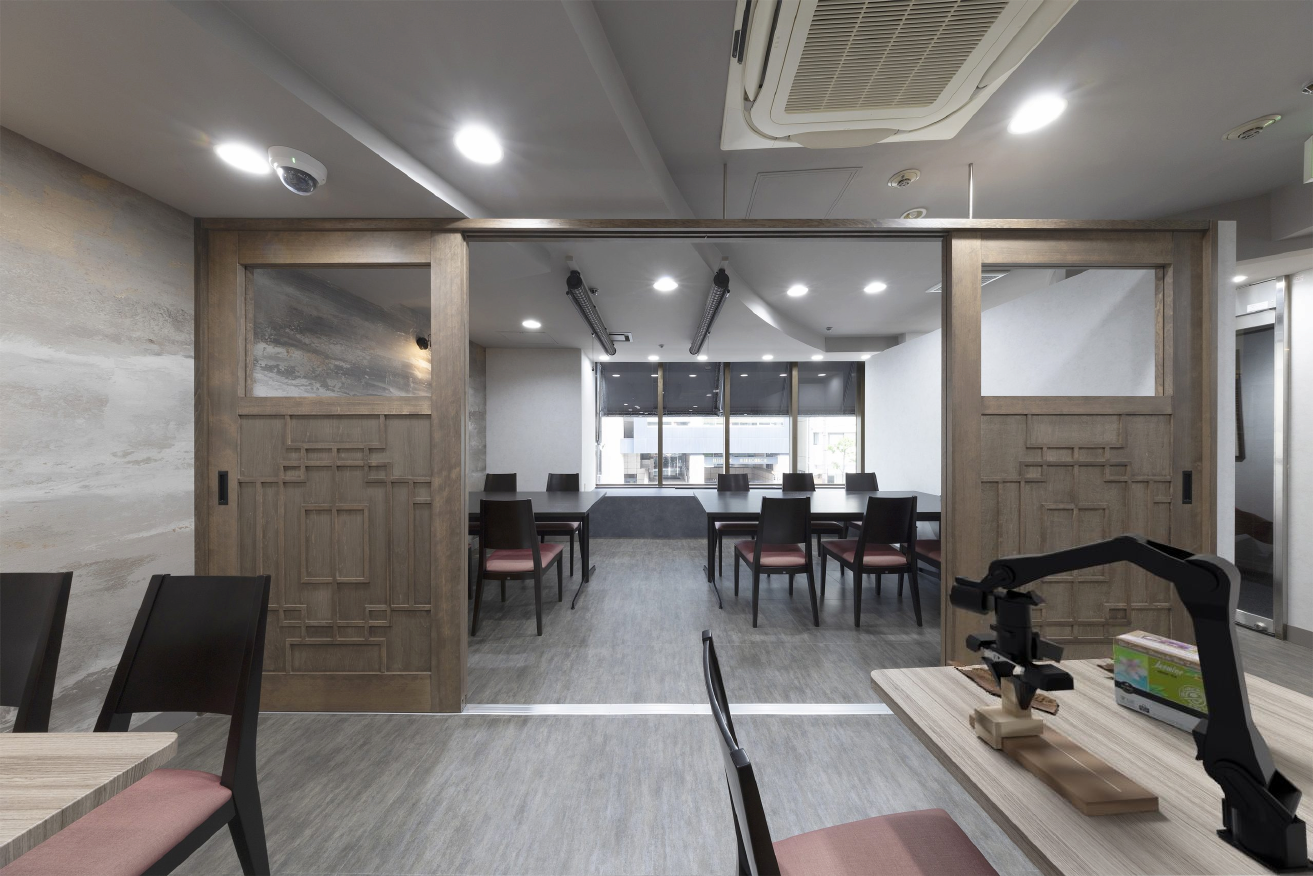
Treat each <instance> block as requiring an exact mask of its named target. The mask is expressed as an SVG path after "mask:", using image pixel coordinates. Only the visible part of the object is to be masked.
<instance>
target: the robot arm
mask: <svg viewBox="0 0 1313 876" xmlns="http://www.w3.org/2000/svg"><path fill="white" fill-rule="evenodd" d="M1123 561H1124V562H1125V561H1126V562H1128V563H1131V564H1133V565H1135V566H1137V567H1139V568H1141V569H1143V570H1145V571H1147V572H1148V573H1150V574H1152V575H1154V576H1155V577H1159V578H1160V579H1163V580H1165V581H1167V582H1170V583H1172V584H1173V585H1174V588H1175V590H1176V594H1177V595H1178V598H1179V601H1180V602H1181V603H1182V605H1183V606H1184V608H1185V611H1187V613H1188V614H1189V617H1190V619H1191V621H1192V626H1193V632H1194V638H1195V644H1196V645H1195V646H1196V647H1197V651H1198V657H1199V662H1200V668H1201V674H1202V680H1203V686H1204V692H1205V698H1206V703H1207V709H1208V715H1209V719H1208V720H1206V719H1203V718H1202V719H1201V720H1200V721H1199V722H1198V724H1197V725H1196V726H1195V727H1194V728H1193V730H1192V733H1191V734H1192V738H1193V741H1194V744H1195V746H1196V749H1197V750H1196V753H1197V754H1196V755H1195V758H1194V760H1195V761H1198V762H1199V761H1202V766H1203V769H1204V771H1205V773H1206V774H1207V776H1208V777H1209V778H1210V779H1212V780H1213V781H1214V782H1215V783H1216V784H1217V785H1219V786H1220V789H1221V790H1222V792H1223V795H1224V797H1221V798H1220V799H1221V801H1220V802H1221V813H1222V814H1221V818H1222V822H1221V823H1222V826H1223V828H1220V829H1216V830H1215V831H1216V835H1217V836H1219V837H1220V838H1221V839H1223V840H1225V841H1226V842H1228V843H1230V844H1231V845H1232V846H1234V847H1236V848H1237V849H1238V850H1240V851H1242V852H1243V853H1246V854H1247V855H1248V856H1250V857H1252V858H1253V859H1254V860H1255V861H1257V860H1258V861H1257V862H1259V863H1260V864H1262V865H1263V866H1265V867H1267V868H1268V869H1269V870H1271V871H1273V872H1275V873H1278V874H1284V873H1287V874H1288V873H1296V872H1297V873H1298V872H1306V871H1307V872H1308V871H1313V860H1312V859H1310V858H1309V857H1308V855H1309V853H1308V837H1307V822H1306V821H1305V820H1303V819H1301V818H1300V817H1299V816H1298V815H1297V814H1296V812H1297V809H1298V807H1299V805H1300V802H1301V798H1302V796H1303V794H1304V793H1303V792H1302V790H1301V789H1300V788H1298V787H1297V786H1296V784H1294V783H1293V782H1292V781H1291V780H1290V779H1288V777H1286V776H1285V775H1284V774H1283V773H1282V772H1281V771H1280V770H1279V769H1278V768H1277V767H1276V763H1275V761H1274V759H1273V756H1272V753H1271V752H1270V749H1269V747H1268V744H1267V742H1266V740H1265V738H1264V737H1263V735H1262V734H1261V732H1260V730H1259V728H1258V727H1257V726H1256V723H1255V722H1254V720H1253V714H1252V710H1251V705H1250V704H1251V703H1250V698H1249V693H1248V687H1247V683H1246V676H1245V671H1244V666H1243V661H1242V659H1243V658H1242V654H1241V649H1240V643H1239V638H1238V631H1237V626H1236V622H1235V621H1236V616H1237V615H1236V614H1237V610H1238V605H1239V604H1238V603H1239V599H1240V590H1241V581H1242V580H1241V579H1242V578H1241V577H1242V575H1241V573H1240V571H1239V568H1238V567H1237V566H1236V565H1235V564H1234V563H1232V562H1230V560H1227V559H1226V558H1225V557H1221V556H1220V555H1219V556H1218V555H1217V554H1216V555H1215V554H1211V553H1195V552H1193V551H1189V550H1187V549H1185V548H1181V547H1178V546H1173V545H1170V544H1166V543H1164V542H1160V541H1156V540H1153V539H1150V538H1147V537H1145V536H1143V535H1140V534H1138V533H1131V532H1130V533H1124V534H1121V535H1118V536H1115V537H1113V538H1109V539H1104V540H1100V541H1096V542H1092V543H1087V544H1082V545H1078V546H1074V547H1069V548H1065V549H1061V550H1057V551H1052V552H1047V553H1027V554H1025V553H1023V554H1011V555H1008V556H1004V557H1000V558H997V559H995V560H992V561H991V562H990V563H989V566H988V569H987V570H988V573H987V574H986V575H985V576H984V577H983V578H982V579H975V578H972V577H968V576H966V575H965V576H964V575H961V574H960V575H956V576H954V583H953V584H952V586H951V589H950V592H949V596H948V597H949V602H950V604H951V606H952V607H953V608H955V609H959V610H962V611H966V612H970V613H973V614H977V615H981V616H988V615H989V614H990V612H991V613H992V612H994V623H989V629H990V630H991V631H993V632H995V635H994V634H992V633H990V632H987V633H985V632H984V633H969V635H967V637H965V647H966V648H967V649H969V650H970V651H972V652H973V653H979V652H981V650H983V652H984V656H981V657H980V658H981V661H983V662H984V663H985V665H986V667H987V669H989V670H990V672H991V674H992V675H993V677H994V679H995V681H996V683H997V684H998V686H999V688H1000V690H1001V677H1011V679H1012V682H1013V686H1014V689H1015V692H1016V696H1017V699H1018V703H1019V705H1020V708H1021V709H1022V710H1028V708H1029V706H1030V704H1031V701H1032V699H1033V697H1034V695H1035V693H1037V691H1038V690H1039V691H1043V692H1063V691H1074V690H1075V681H1074V677H1073V675H1072V674H1070V673H1069V672H1068V671H1066V670H1064V669H1062V668H1060V667H1058V666H1057V665H1054V664H1052V663H1041V664H1038V663H1034V660H1035V661H1044V658H1045V659H1048V660H1050V661H1054V662H1055V663H1057V664H1061V660H1062V657H1063V654H1064V651H1065V647H1064V646H1062V645H1059V644H1057V643H1055V642H1053V641H1050V640H1048V639H1045V638H1044V637H1041V634H1040V633H1039V631H1038V630H1035V629H1033V616H1032V615H1033V614H1032V612H1033V611H1032V610H1033V609H1032V606H1033V607H1038V606H1040V605H1041V606H1042V605H1043V604H1046V599H1044V598H1043V597H1042V596H1041V595H1040V594H1038V593H1037V592H1036V590H1035V589H1029V590H1028V591H1026V592H1025V591H1020V590H1015V589H1018V588H1021V587H1024V586H1027V585H1029V584H1032V583H1034V582H1036V581H1041V580H1042V579H1045V578H1047V577H1049V576H1053V575H1058V574H1063V573H1068V572H1069V573H1070V572H1072V571H1073V572H1074V571H1079V570H1083V569H1088V568H1093V567H1094V568H1095V567H1098V566H1104V565H1108V564H1113V563H1114V564H1115V563H1120V562H1123ZM997 589H1002V590H1006V591H1002V590H997ZM981 648H982V649H981ZM1016 667H1018V668H1020V671H1019V673H1018V674H1017V673H1016V674H1014V670H1015V669H1016Z"/></svg>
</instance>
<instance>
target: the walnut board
mask: <svg viewBox="0 0 1313 876" xmlns="http://www.w3.org/2000/svg"><path fill="white" fill-rule="evenodd" d="M968 719H969V720H968V721H969V725H970V726H972V727H973V728H974V729H975V715H974V713H969V714H968ZM1043 733H1044V734H1042V735H1027V736H1012V737H1001V745H1002V749H1001V750H1002V751H1003V752H1004V753H1006V754H1007V755H1009V756H1010V757H1011V759H1014V760H1015V761H1016V762H1017V763H1019V764H1020V765H1021V766H1023V768H1024V769H1026V770H1028V771H1029V772H1030V773H1031V774H1032V775H1034V777H1036V778H1037V779H1039V780H1040V781H1041V782H1043V783H1045V784H1046V786H1048V787H1049V788H1050V789H1051V790H1053V791H1054V792H1056V793H1057V794H1058V795H1059V796H1061V797H1062V798H1063V799H1065V800H1066V801H1067V802H1068V803H1069V804H1071V805H1072V806H1073V807H1075V809H1077V810H1078V811H1080V812H1081V813H1082V814H1084V816H1086V817H1092V816H1106V815H1116V814H1128V813H1129V814H1130V813H1141V812H1152V811H1160V803H1159V800H1160V799H1159V796H1158V795H1156V794H1154V793H1153V792H1152V791H1150V790H1149V789H1146V788H1145V787H1144V786H1142V785H1141V784H1140V783H1137V782H1136V781H1135V780H1132V779H1131V778H1129V776H1127V775H1125V774H1124V773H1122V772H1121V771H1119V770H1117V769H1116V768H1114V767H1112V766H1111V765H1109V764H1108V763H1107V762H1105V761H1104V760H1102V759H1100V758H1099V757H1097V756H1096V755H1094V754H1093V753H1091V752H1089V751H1088V750H1086V749H1085V748H1083V747H1082V746H1081V745H1078V744H1077V743H1075V741H1072V740H1071V739H1069V738H1068V737H1066V736H1065V735H1063V734H1062V733H1061V732H1058V731H1057V730H1056V729H1054V728H1052V727H1051V726H1049V725H1048V724H1047V723H1044V722H1043Z"/></svg>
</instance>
